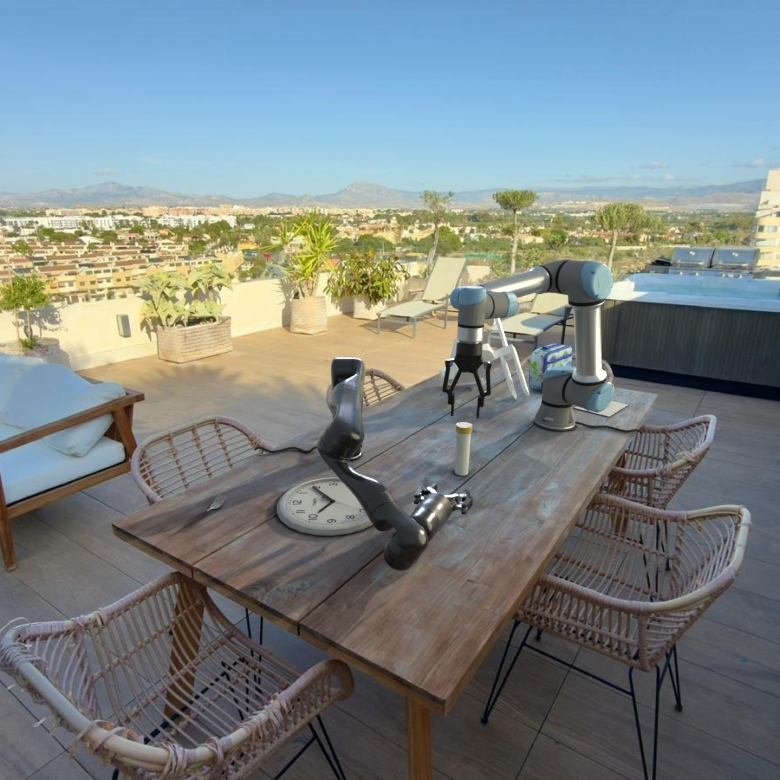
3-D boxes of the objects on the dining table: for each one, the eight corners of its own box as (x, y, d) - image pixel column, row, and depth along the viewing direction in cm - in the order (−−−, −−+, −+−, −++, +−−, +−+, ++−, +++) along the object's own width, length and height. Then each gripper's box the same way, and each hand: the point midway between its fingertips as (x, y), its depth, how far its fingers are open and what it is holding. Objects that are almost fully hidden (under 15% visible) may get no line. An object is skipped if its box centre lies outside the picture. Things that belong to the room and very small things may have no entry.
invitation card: (608, 416, 214) (573, 407, 224) (608, 416, 214) (573, 408, 224) (628, 404, 229) (594, 396, 238) (628, 405, 229) (594, 397, 238)
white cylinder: (462, 476, 160) (465, 429, 156) (451, 472, 163) (454, 426, 159) (470, 472, 163) (474, 426, 159) (460, 468, 166) (462, 422, 161)
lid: (465, 435, 156) (466, 429, 155) (452, 430, 159) (452, 424, 158) (475, 431, 159) (475, 425, 159) (462, 426, 162) (462, 420, 162)
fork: (178, 529, 130) (177, 522, 129) (219, 499, 144) (218, 493, 144) (187, 531, 129) (186, 524, 129) (227, 501, 143) (226, 494, 143)
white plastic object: (461, 429, 252) (437, 405, 227) (444, 352, 274) (420, 323, 250) (535, 404, 240) (518, 377, 215) (510, 326, 262) (492, 293, 237)
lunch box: (544, 395, 239) (549, 351, 233) (524, 390, 247) (528, 347, 240) (571, 384, 257) (577, 343, 251) (552, 380, 264) (556, 339, 258)
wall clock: (392, 527, 129) (268, 531, 127) (391, 533, 130) (269, 537, 127) (383, 473, 158) (282, 475, 155) (383, 478, 158) (282, 480, 156)
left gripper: (461, 505, 120) (478, 481, 135) (403, 493, 126) (426, 471, 140) (459, 535, 122) (476, 507, 137) (402, 522, 127) (425, 497, 142)
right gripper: (504, 340, 152) (498, 414, 159) (437, 336, 156) (433, 409, 163) (504, 345, 145) (498, 423, 152) (433, 341, 149) (430, 417, 156)
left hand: (451, 489), depth 138 cm, fingers open, 8 cm apart
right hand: (464, 415), depth 158 cm, fingers open, 7 cm apart
